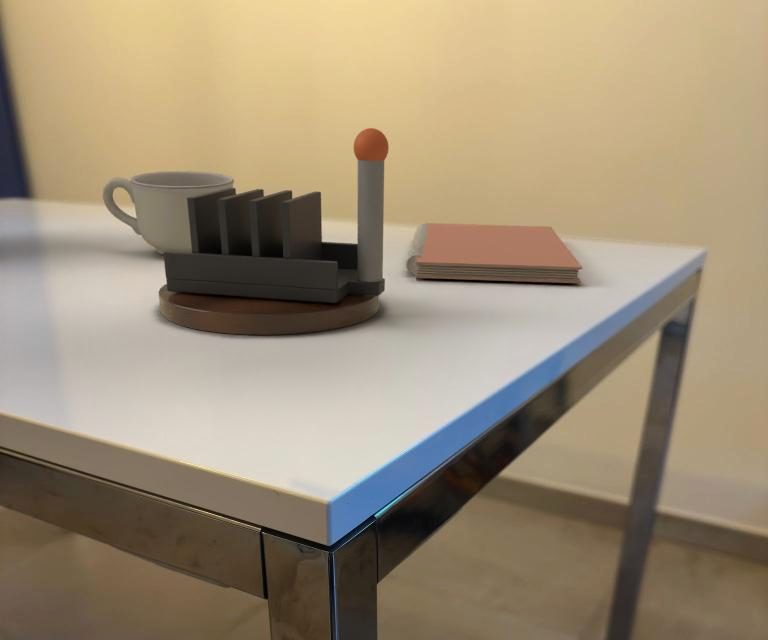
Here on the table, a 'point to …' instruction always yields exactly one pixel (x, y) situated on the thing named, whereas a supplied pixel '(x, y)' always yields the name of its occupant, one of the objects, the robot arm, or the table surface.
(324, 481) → the table surface
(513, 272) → the notebook
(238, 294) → the dish rack
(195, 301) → the turntable
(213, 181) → the teacup
